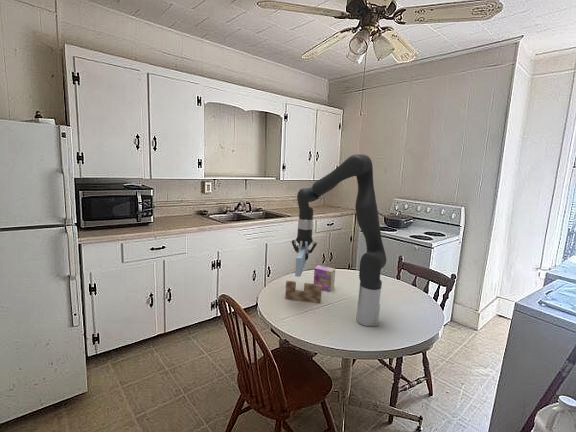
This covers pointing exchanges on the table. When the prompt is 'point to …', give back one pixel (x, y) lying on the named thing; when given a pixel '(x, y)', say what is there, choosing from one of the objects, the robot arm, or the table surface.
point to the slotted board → (303, 292)
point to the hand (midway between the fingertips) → (303, 259)
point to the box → (324, 277)
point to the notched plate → (300, 262)
